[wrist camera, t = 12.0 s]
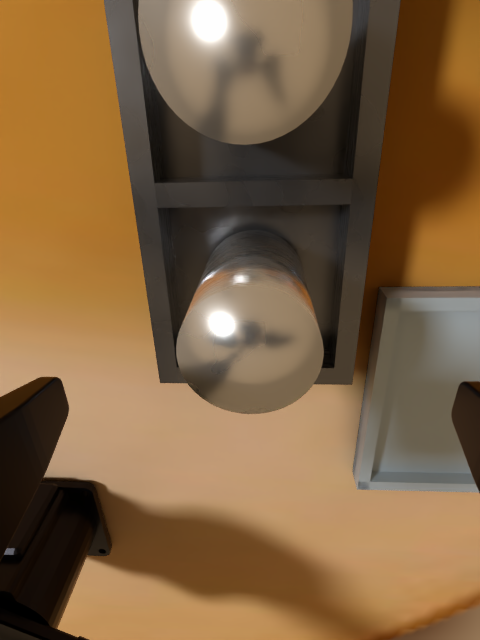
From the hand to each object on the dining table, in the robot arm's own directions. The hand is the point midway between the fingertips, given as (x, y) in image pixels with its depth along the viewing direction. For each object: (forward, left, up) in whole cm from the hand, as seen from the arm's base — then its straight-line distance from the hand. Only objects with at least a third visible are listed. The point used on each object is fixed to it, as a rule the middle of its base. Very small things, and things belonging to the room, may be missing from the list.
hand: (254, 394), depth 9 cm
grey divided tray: (+3, 0, -9) cm, 10 cm away
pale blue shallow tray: (-7, -10, -9) cm, 15 cm away
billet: (0, 0, -8) cm, 8 cm away
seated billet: (+7, 0, -8) cm, 11 cm away
